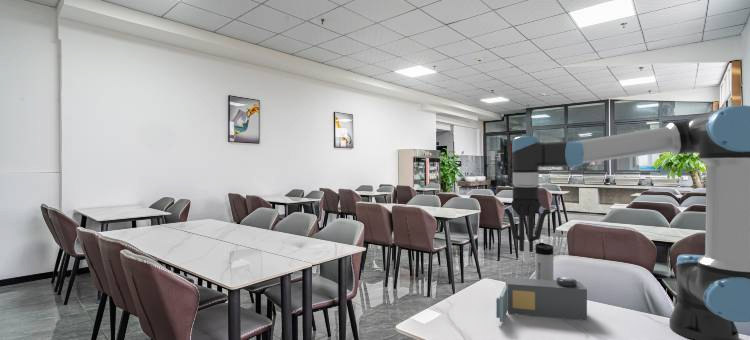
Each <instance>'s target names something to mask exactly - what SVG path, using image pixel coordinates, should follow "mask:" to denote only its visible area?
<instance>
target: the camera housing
mask: <svg viewBox="0 0 750 340" xmlns="http://www.w3.org/2000/svg"><path fill="white" fill-rule="evenodd" d="M505 287H507V314H509V315H521V316H531V317H533V316H534V317H545V318H555V319H566V320H568V319H569V320H577V321H578V320H579V321H588V289H587V288H586V287H585V286H584V285H583V284H582V283H581V282H580V281H577V280H576V279H574V278H572V277H570V276H560V277H556V279H555V280H554V279H553V280H543V279H535V278H525V277H512V276H511V277H510V276H505Z"/></svg>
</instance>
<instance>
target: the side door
mask: <svg viewBox="0 0 750 340" xmlns="http://www.w3.org/2000/svg"><path fill="white" fill-rule="evenodd" d="M495 301H496V302H495V303H496V306H495V307H496V308H495V310H496V312H495V315H496V316H495V317H496V319H499V322H500V323H504V321H505V317H506V315H507V314H508V311H507V287H506V286H503V288H502V289H501V292H500V294H499V297H496V299H495Z"/></svg>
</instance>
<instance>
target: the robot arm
mask: <svg viewBox="0 0 750 340" xmlns="http://www.w3.org/2000/svg"><path fill="white" fill-rule="evenodd" d="M511 146H512V148H511V156H512V158H511V160H512V162H511V163H512V165H511V166H512V185H513V187H512V200H511V203H510V205H509V206H507V207H504V209H503V210H504V213H505V214H506V216H507V218H508V223H509V226H510V230H511V234H512V237H513V239H515V240H518V242H519V243H518V245H519V246H518V247H519V251H520V252H522V260H523V263H524V264H525V263H526V264H530V253H531V252H532V253H533V252H534V241H537V240H540V238H541V234H542V231H543V230H542V229H543V225H544V221H545V218H546V216H547V215H548V213H549V209H547V208H544V206H542V204H541V203H540V194H539V193H540V189H539V187H538V186H539V184H540V183H539V179H540V178H539V168H540V167H541V168H545V167H546V168H547V167H549V168H566V167H567V168H573V167H575V168H576V167H581V166H582V165H583V164H587V163H595V162H602V161H608V160H609V161H611V160H617V159H626V158H633V157H634V158H635V157H640V156H641V157H642V156H647V155H656V154H663V153H671V154H672V155H682V154H698V160H699V161H701V162H702V163H703V164H704V165H705V166H706V177H705V179H706V181H705V182H706V183H705V185H706V186H705V187H706V189H705V191H706V192H705V193H706V194H705V240H704V242H705V243H704V244H705V246H704V249H705V250H704V255H702V254H686V253H685V254H679V255H678V256H677V258H676V263H675V267H676V304H675V306H674V309H673V310H672V313H671V315H670V318H669V328H670V329H671V331H673V332H674V333H677V334H678V335H680V336H682V337H684V338H687V339H690V338H691V339H690V340H693V339H696V340H738V339H739V340H740V338H739V337H740V334H739V331H738V328H737V326H736V324H735V323H750V105H740V104H738V105H730V106H724V107H720V108H718V109H715V110H713V111H708V112H705V113H702V114H700V115H697V116H694V117H691V118H688V119H684V120H680V121H679V120H678V121H675V122H669V123H668V124H667V125H666V126H665V127H657V128H652V129H651V128H650V129H645V130H640V131H639V130H638V131H634V132H633V131H632V132H625V133H619V134H614V135H608V136H601V137H595V138H587V139H582V140H575V141H572V140H569V141H551V142H540V140H539V137H538V136H535V135H527V136H516V137H514V138H513V139H512V145H511ZM513 210H514V211H515V213H516V214H517V216H518V231H517V227H516V225H515V220H514V217H513V214H512V213H513ZM538 210H539V211H538ZM537 212H539V214H538V218H537V223H536V226H535V230H534V216H535V214H536V213H537ZM525 217H526V218H527V239H525Z"/></svg>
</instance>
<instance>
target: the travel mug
mask: <svg viewBox="0 0 750 340" xmlns="http://www.w3.org/2000/svg"><path fill="white" fill-rule="evenodd" d="M534 249H535V253H534V256H535V258H534V260H535V261H534V262H535V263H534V264H535V268H534V270H535V271H534V272H535V274H534V275H535V277H534V279H543V280H554V245H552V244H548V243H544V242H538V243H536V244H535V248H534Z"/></svg>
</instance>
